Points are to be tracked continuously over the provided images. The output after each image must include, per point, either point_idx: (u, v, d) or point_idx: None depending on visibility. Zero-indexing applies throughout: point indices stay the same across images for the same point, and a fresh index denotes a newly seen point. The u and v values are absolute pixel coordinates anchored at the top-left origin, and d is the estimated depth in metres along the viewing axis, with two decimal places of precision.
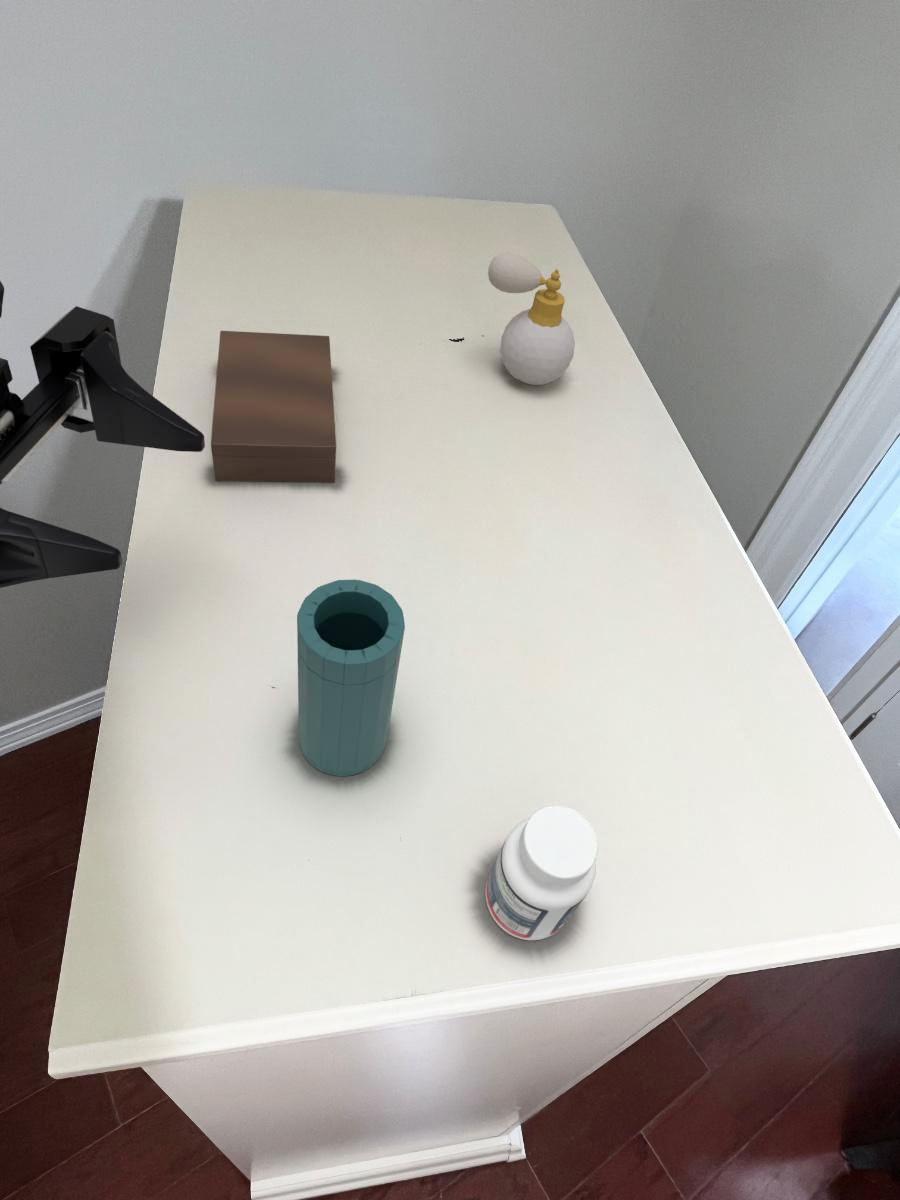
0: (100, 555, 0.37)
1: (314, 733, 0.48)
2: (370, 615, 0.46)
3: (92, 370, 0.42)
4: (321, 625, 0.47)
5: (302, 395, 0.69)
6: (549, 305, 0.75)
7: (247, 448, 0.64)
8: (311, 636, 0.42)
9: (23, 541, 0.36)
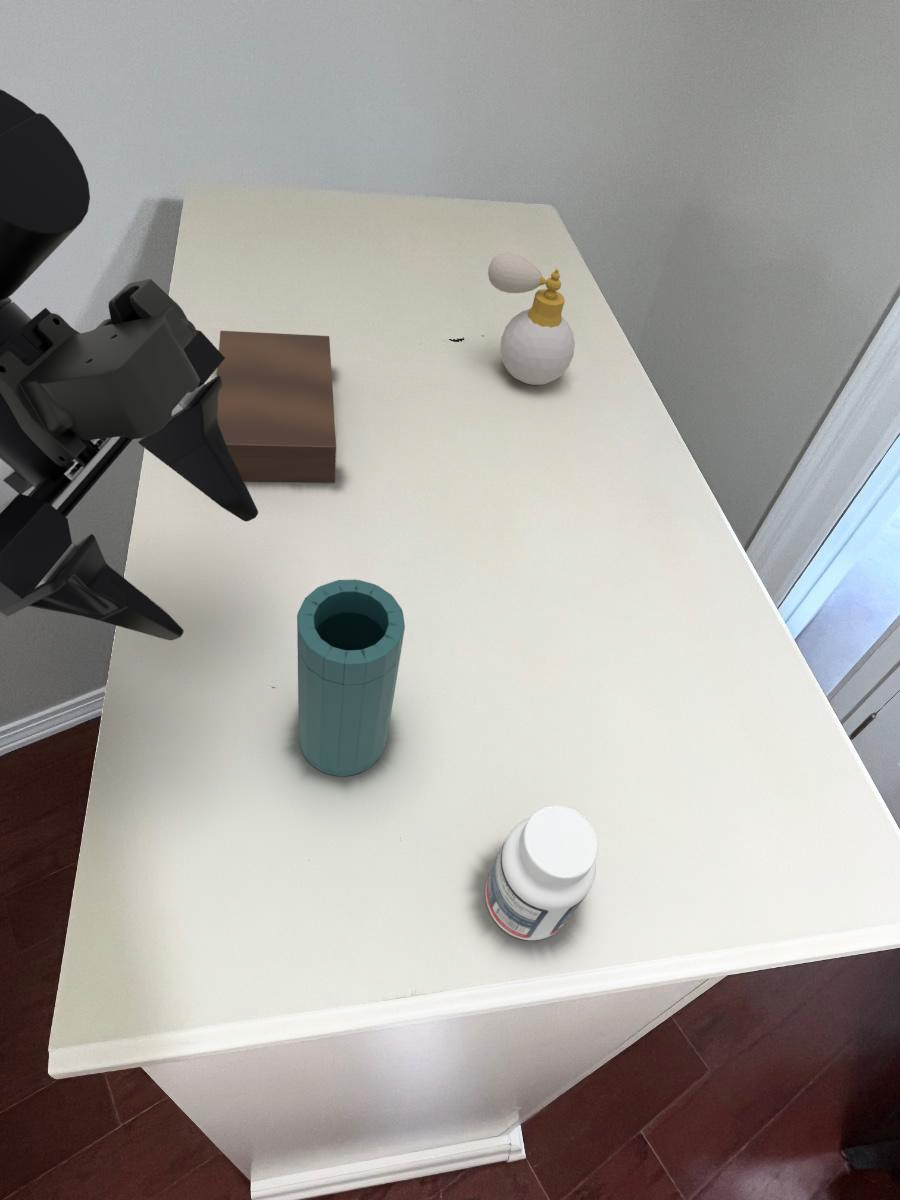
0: (167, 631, 0.40)
1: (314, 733, 0.48)
2: (370, 615, 0.46)
3: (199, 416, 0.42)
4: (321, 625, 0.47)
5: (302, 395, 0.69)
6: (548, 305, 0.75)
7: (247, 448, 0.64)
8: (311, 636, 0.42)
9: (114, 602, 0.37)
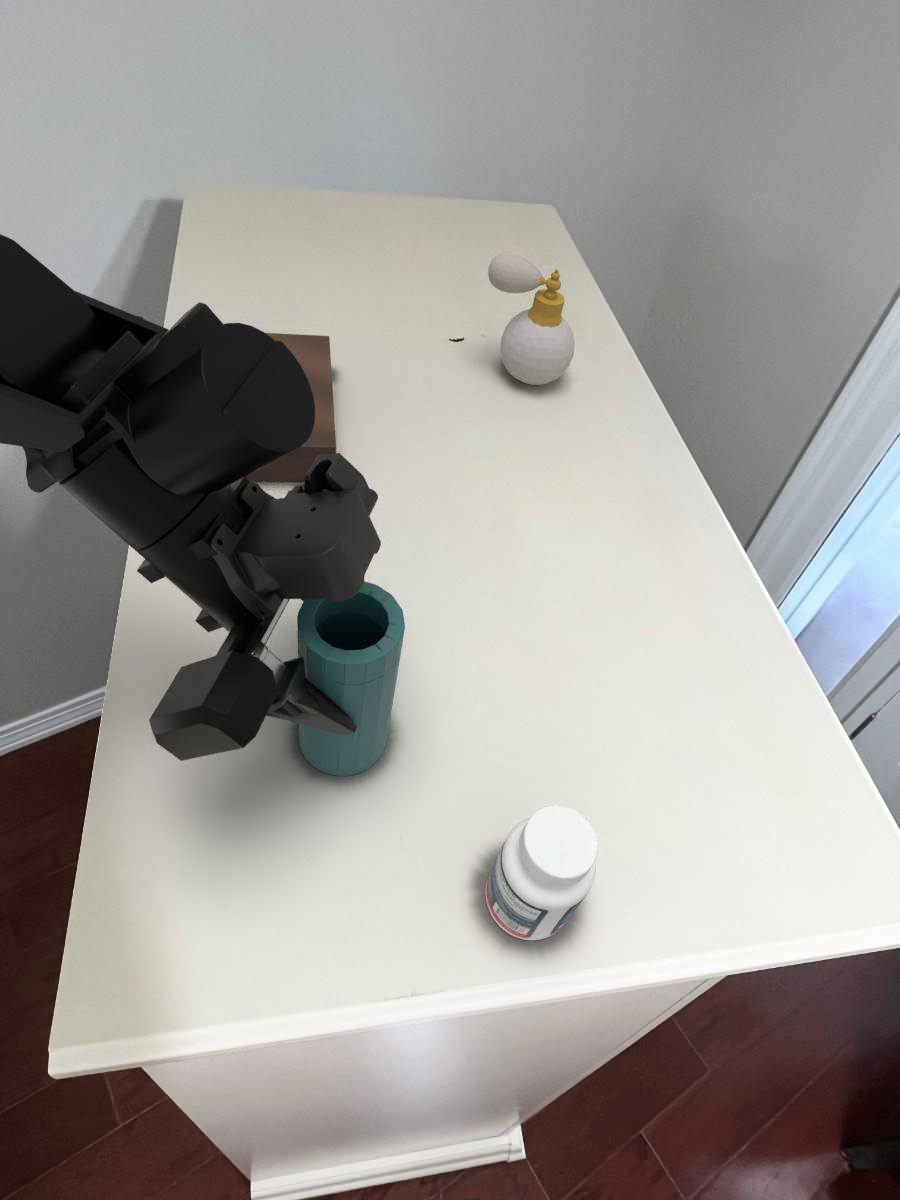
0: (345, 729, 0.45)
1: (314, 733, 0.48)
2: (370, 615, 0.46)
3: None
4: (321, 625, 0.47)
5: None
6: (548, 305, 0.75)
7: None
8: (311, 636, 0.42)
9: (310, 710, 0.43)
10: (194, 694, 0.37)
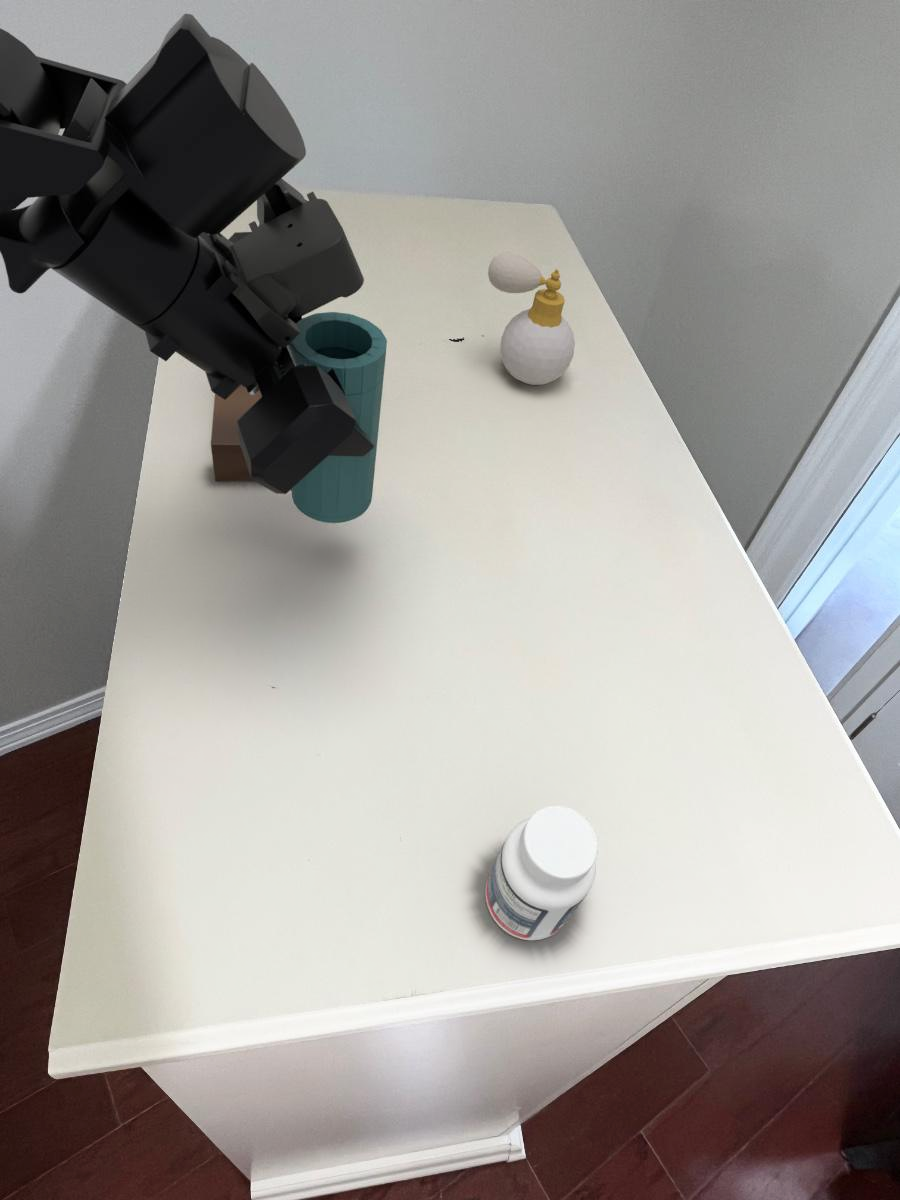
0: (367, 445, 0.51)
1: (330, 476, 0.53)
2: (337, 343, 0.50)
3: None
4: None
5: None
6: (549, 305, 0.75)
7: None
8: (321, 358, 0.46)
9: None
10: (287, 411, 0.41)
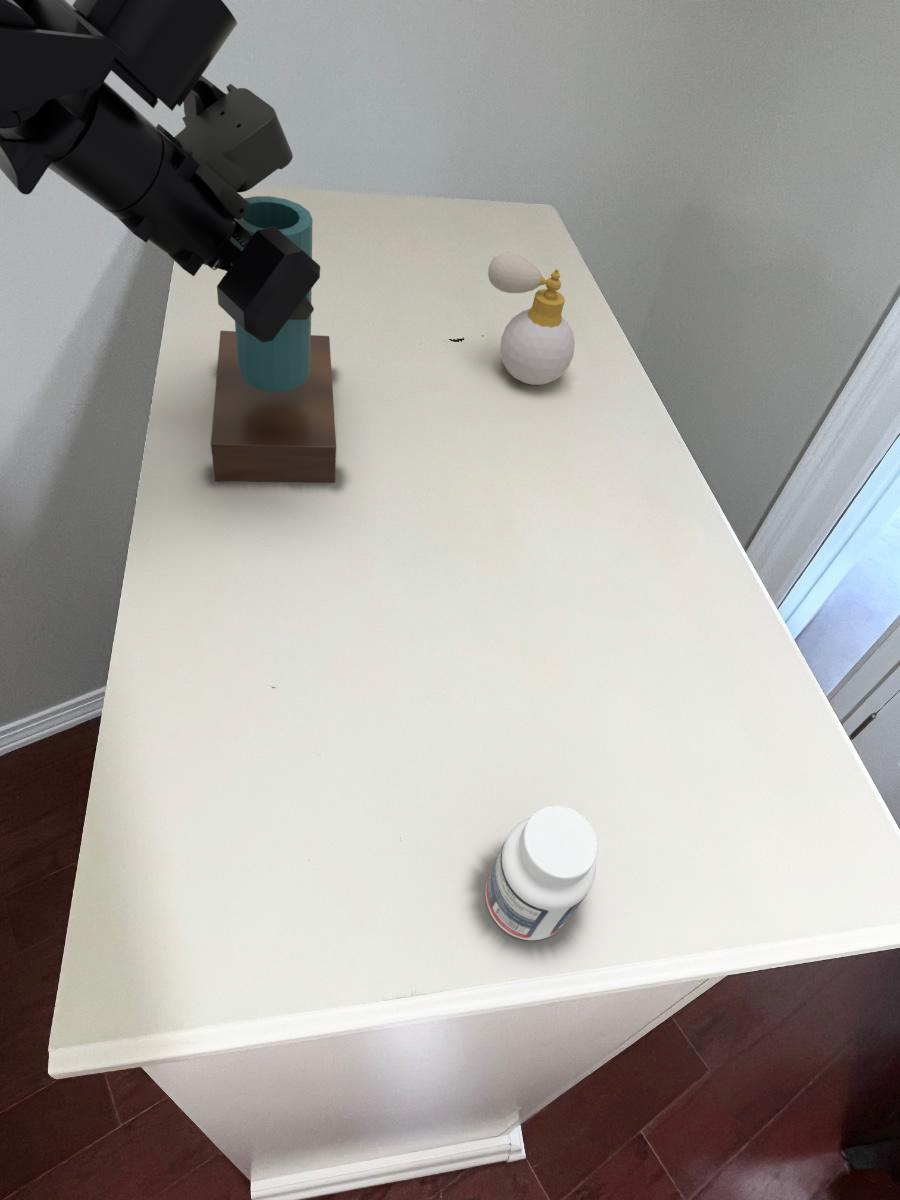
0: (309, 307, 0.60)
1: (280, 344, 0.61)
2: (263, 224, 0.59)
3: None
4: None
5: (302, 395, 0.69)
6: (549, 305, 0.75)
7: (247, 448, 0.64)
8: None
9: None
10: (265, 264, 0.49)
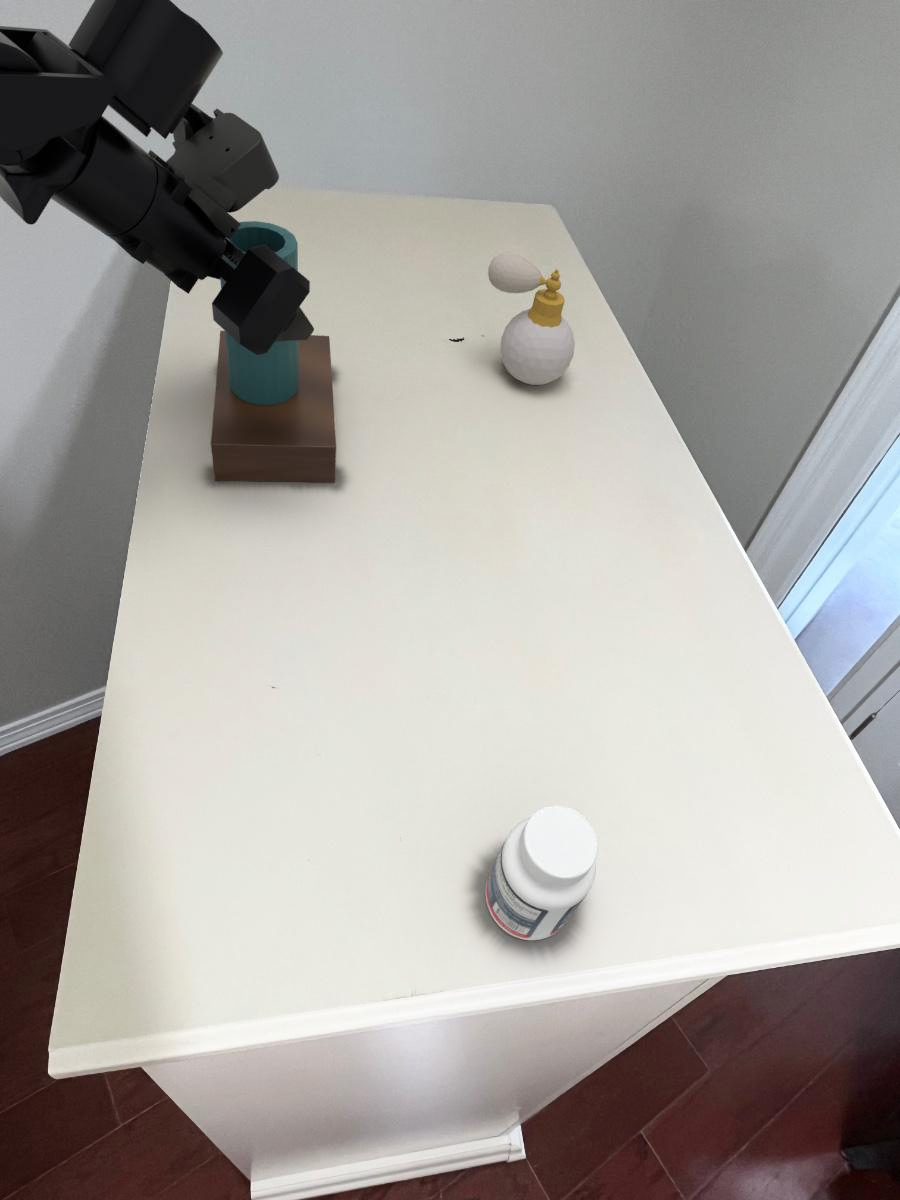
0: (310, 328, 0.62)
1: (270, 360, 0.64)
2: None
3: None
4: None
5: (302, 395, 0.69)
6: (549, 305, 0.75)
7: (247, 448, 0.64)
8: None
9: (297, 310, 0.58)
10: (258, 282, 0.52)
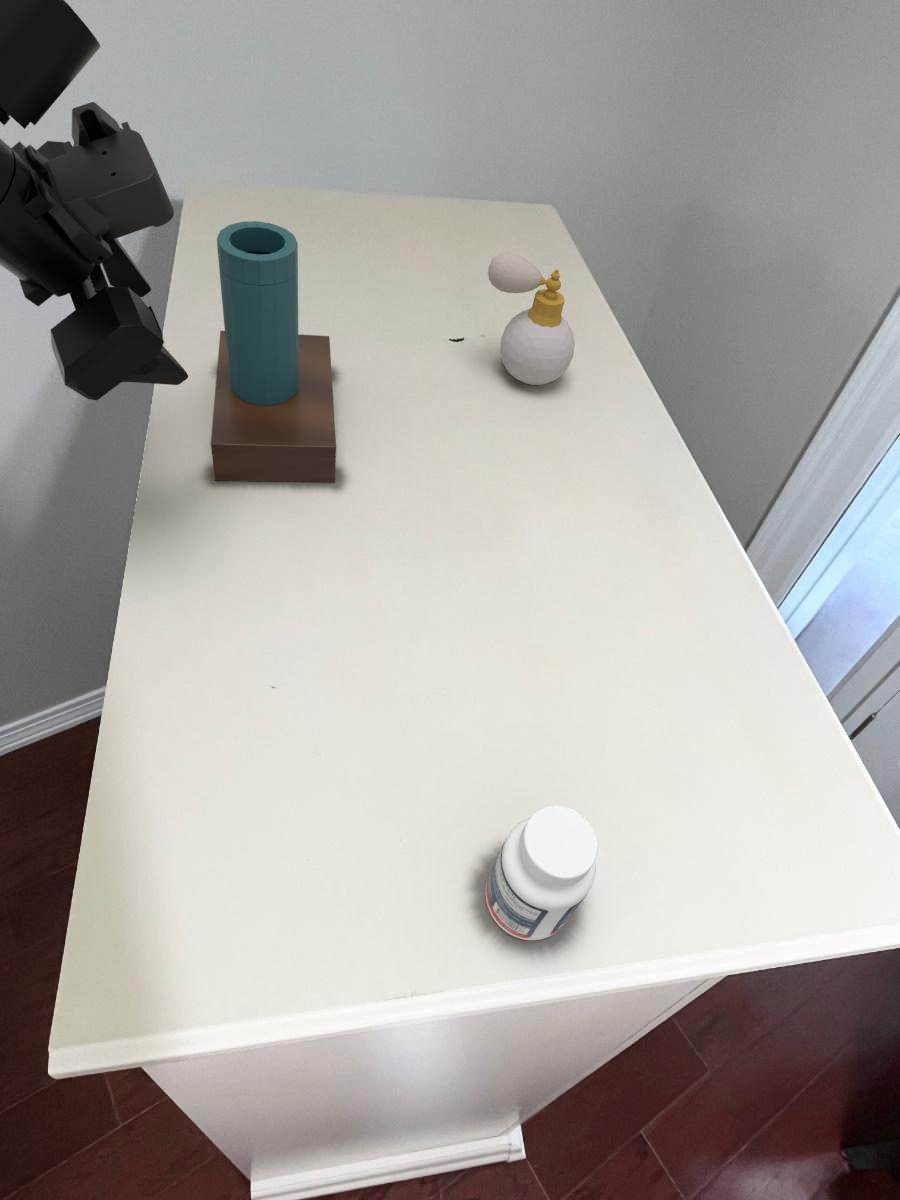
0: (182, 375, 0.56)
1: (270, 360, 0.64)
2: (250, 248, 0.62)
3: None
4: None
5: (302, 395, 0.69)
6: (549, 305, 0.75)
7: (247, 448, 0.64)
8: (252, 256, 0.58)
9: (162, 358, 0.53)
10: (99, 327, 0.46)
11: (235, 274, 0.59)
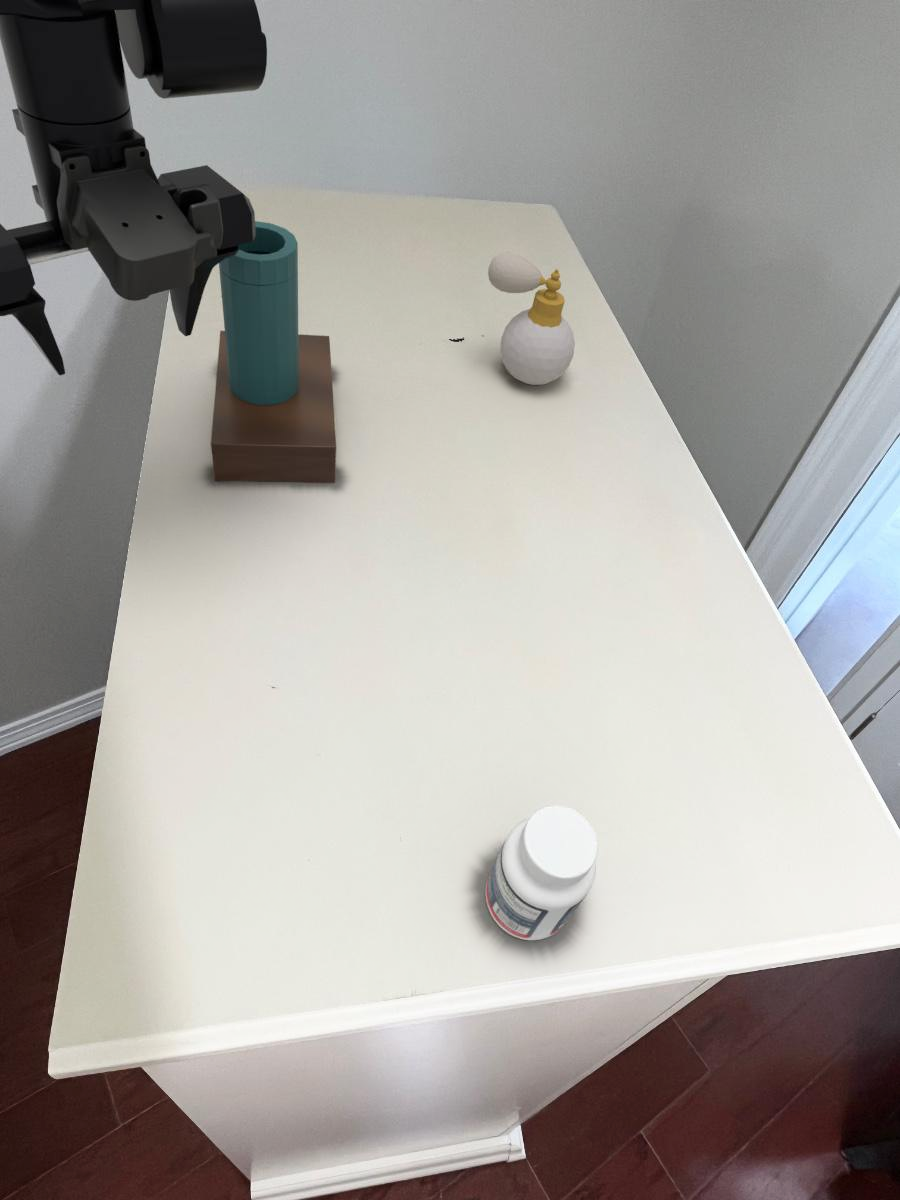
0: (53, 367, 0.52)
1: (270, 360, 0.64)
2: (250, 248, 0.62)
3: (197, 262, 0.52)
4: None
5: (302, 395, 0.69)
6: (549, 305, 0.75)
7: (247, 448, 0.64)
8: (252, 256, 0.58)
9: (30, 333, 0.49)
10: None
11: (235, 274, 0.59)
